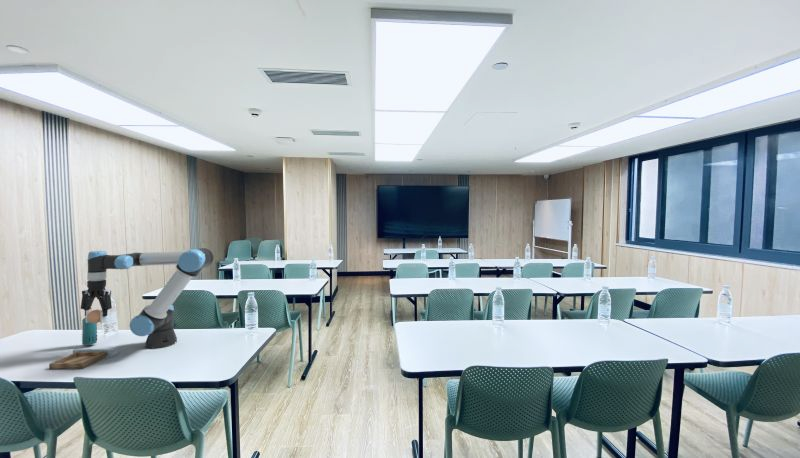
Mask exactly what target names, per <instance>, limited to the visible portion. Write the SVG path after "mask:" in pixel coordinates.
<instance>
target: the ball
mask: <svg viewBox="0 0 800 458" xmlns="http://www.w3.org/2000/svg"><path fill="white" fill-rule="evenodd" d="M101 310H102V309H92V311H91V312H90V313H89V314H88V316H87V319H88V321H89V322H91V323H97V324H99V323H100V312H101Z"/></svg>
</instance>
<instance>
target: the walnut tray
mask: <svg viewBox="0 0 800 458" xmlns="http://www.w3.org/2000/svg"><path fill="white" fill-rule="evenodd" d="M105 356H107V352H76V353H74V354H73V353H72V354H69V355H67V356H65V357H62V358H59V359H57V360H56V361H52V362H51V363H49V364H48V369H49V370H83V369H85V368H87V367H90V366H91V365H93V364H96V363H97V362H99V361H101V360H103V359H106V358H105Z"/></svg>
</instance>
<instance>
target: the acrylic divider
mask: <svg viewBox="0 0 800 458" xmlns="http://www.w3.org/2000/svg"><path fill="white" fill-rule="evenodd" d="M76 352H107V356H105V358H104V359H106V358H107V359H108V358H113V357H115V356H116V355H118V354H119V352H115V348H85V349H84V348H83V349H82V348H80V349H79V348H77V349H76V348H74V349H72V354H74V353H76Z"/></svg>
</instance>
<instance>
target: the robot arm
mask: <svg viewBox="0 0 800 458" xmlns="http://www.w3.org/2000/svg"><path fill="white" fill-rule="evenodd" d="M214 259H215V256H214V253H213V251H211V250H210V249H208V248H205V247H200V248H194V249H193V248H191V249H188V250H186V251H161V252H160V251H159V252H154V251H153V252H132V253H125V254H124V253H123V254H108V252H107V251H106V250H92V251H89V252H88V254H87V260H86V261H87V276H86V277H87V284H86V287H87V288H88V289H85V290H82V291H81V295H82V297H81V302H80V310H84V317H86V323H88V322H89V321H88V319H87V316H88V314H89V313H90V312H91V311H93V309H92V305H93V303H94V300H95V298H96V299H97V300H98V303H99V304H100V305H99V306H100V310H101V312H100V322H99V323H100V324H103V323H106V322H107V316H108V310H111V309H112V298H111V294H112V290H106V286H107V270H121V271H122V270H129V269H131V267H144V266H145V267H146V266H170V265H171V266H172V265H173V266H174V265H175V268H176V270H175V272H174V273H173V274H172V276H171V277H170V278H169V280H168V281H167V282H166V284H165V285H164V286H163V288H162V289H161V290H160V292H159V293H158V294H157V296H156V297H155V299H153V300H152V302H151V303H150V304H148V305H145V306H144V307H143V309H142V310H141V312H139V314H138V315H134V316H133V318H131V320H130V321H129V329H130V331H131V333H132V334H133V335H135V336H137V337H146V336H147V337H146V340H145V342H144V343H145V348H146V349H160V348H166V346H167V347H170V346H172V344H173V345H175V344H176V343H177V342H178V337H177V334H176V331H175V329H174V325H175V324H174V323H175V322H174V321H175V318H174V317H175V316H174V315H175V314H174V313H175V309H174V308H175V307H174V305H173V304H174V302H175V301H176V300H177V298H178V297H179V296H180V295H181V293H182V292H183V291H184V290H185V288H186V286H187V285H188V284H189V283H190V281H191V280H192V279H193V278H196V277H198V276H199V274H200V273H201V271H202V270H203V269H205V268H208V267H210V266H211V265H212V264H213V263H214ZM175 342H176V343H175ZM174 343H175V344H174ZM169 345H170V346H169Z"/></svg>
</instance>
